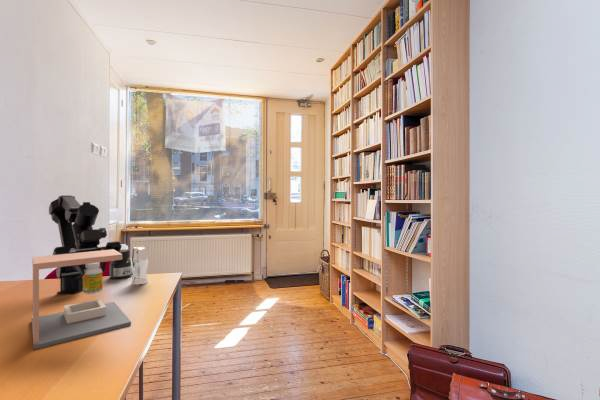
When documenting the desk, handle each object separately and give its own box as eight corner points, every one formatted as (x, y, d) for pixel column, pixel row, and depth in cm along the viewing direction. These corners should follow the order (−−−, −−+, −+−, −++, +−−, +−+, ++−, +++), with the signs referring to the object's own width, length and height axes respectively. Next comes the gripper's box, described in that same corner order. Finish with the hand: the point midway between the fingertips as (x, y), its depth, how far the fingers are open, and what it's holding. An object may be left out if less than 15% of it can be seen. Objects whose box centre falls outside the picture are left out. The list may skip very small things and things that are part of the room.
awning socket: (31, 321, 89) (31, 251, 88) (114, 304, 103) (114, 244, 103) (33, 349, 72) (33, 264, 72) (131, 325, 87) (131, 254, 86)
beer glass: (152, 281, 131) (152, 247, 131) (139, 286, 124) (139, 249, 124) (140, 280, 133) (140, 246, 133) (126, 284, 126) (126, 248, 126)
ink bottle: (115, 280, 132) (115, 253, 132) (104, 277, 137) (104, 251, 137) (136, 275, 141) (136, 250, 140) (126, 273, 145) (126, 248, 145)
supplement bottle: (88, 295, 96) (87, 265, 96) (79, 292, 99) (79, 263, 98) (105, 290, 101) (105, 262, 100) (97, 288, 103) (97, 260, 103)
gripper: (54, 221, 94) (62, 262, 88) (120, 218, 109) (131, 254, 102) (48, 243, 100) (56, 283, 93) (112, 238, 114) (122, 272, 107)
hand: (93, 272), depth 98 cm, fingers closed on supplement bottle, 5 cm apart
